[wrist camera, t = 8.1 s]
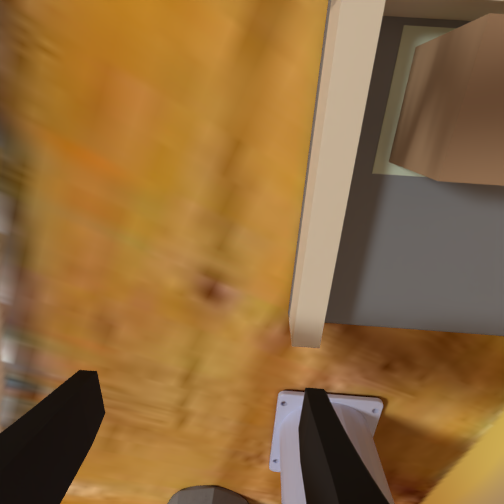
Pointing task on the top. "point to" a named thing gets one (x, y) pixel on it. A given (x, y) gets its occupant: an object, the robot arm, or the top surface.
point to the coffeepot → (206, 496)
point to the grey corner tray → (389, 191)
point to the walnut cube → (455, 106)
